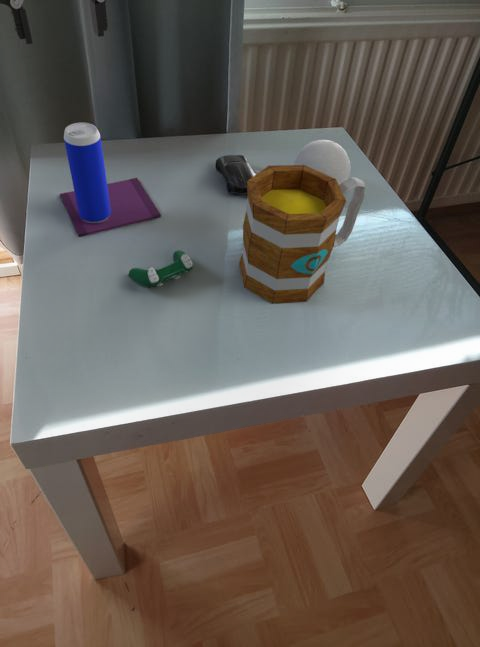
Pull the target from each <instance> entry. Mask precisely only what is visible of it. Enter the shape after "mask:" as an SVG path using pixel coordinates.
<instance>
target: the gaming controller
mask: <svg viewBox="0 0 480 647" xmlns="http://www.w3.org/2000/svg"><path fill="white" fill-rule="evenodd" d="M172 258H173V259H172V260H173V262H172V263H169V264H168V265H165V266H162V267H160V268H157V269H155V267H153V266H152V267H149V268H148V269H144V268H140V267H133V268H131V269H130V270H129V271H128V274H127V275H128V277H129V279H131V280H132V281H133V282H134V283H136V284H138V285H140V286H142V287H144V288H148V289H150V288H152V287H160V286H163V285H164V282H166V281H168V280H171V279H173V280H177V279H179V278H180V277H181V275H182V274H185V273H187V272H190V271H191V270H193V269H194V262H193V260H192V258H190V257H189V255H188V254H187V253H186V252H184V251H183V250H180V249H179V250H175V251H174V252H173V257H172Z"/></svg>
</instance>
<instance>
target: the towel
mask: <svg viewBox="0 0 480 647" xmlns="http://www.w3.org/2000/svg"><path fill="white" fill-rule="evenodd" d="M107 187H108V194H109V201H110V208H111V214H110V216H109V217H108V218H107V219H106V220H105V221H103V222H101V223H88V222H86V221H84V220H83V219H82V218H81V217H80V216H79V212H78V207H77V202H76V197H75V192H74V190H72V191H66V192H61V193H59V197H60V199H61V201H62V204H63V205H64V208H65V210H66V213H67V214H68V216H69V219H70V221H71V223H72V225H73V228H74V230H75V232H76V235H77V236H78V237H84V236H89V235H92V234H96V233H101V232H106V231H108V230H113V229H117V228H121V227H126V226H130V225H133V224H138V223H142V222H146V221H150V220H154V219H158V218H161V217H162V214H161V213H160V211H159V210H158V208H157V207H156V205H155V203H154V202H153V200H152V199H151V197H150V196H149V193H147V191H146V189H145V188H144V186H143V185H142V183H141V182H140V180H139V178H138V177H134V178H133V177H132V178H130V179H124V180H120V181H114V182H111V183H107Z"/></svg>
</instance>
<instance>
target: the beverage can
mask: <svg viewBox="0 0 480 647" xmlns="http://www.w3.org/2000/svg"><path fill="white" fill-rule="evenodd" d="M63 132H64V133H63V141H64V147H65V151H66V156H67V162H68V166H69V171H70V176H71V180H72V181H71V182H72V187H73V191H74V192H75V197H76V202H77V207H78V212H79V216H80V217H81V218H82V219H83V220H84V221H86V222H88V223H101V222H103V221H105V220H106V219H107V218H108V217H109V216H110V214H111V208H110V201H109V194H108V187H107V184H108V180H107V174H106V167H105V160H104V158H105V157H104V152H103V145H102V138H101V134H100V132H99V129H98V127H96V126H95V125H94V124H92V123H89V122H74V123H71V124H69V125H67V126H66V127H65V128H64V131H63Z"/></svg>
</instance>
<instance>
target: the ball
mask: <svg viewBox="0 0 480 647" xmlns="http://www.w3.org/2000/svg"><path fill="white" fill-rule="evenodd" d="M293 165H305V166H308V167H310V168H312V169H314V170H317V171H319V172H321V173H323V174H326V175H328V176H330V177H332V178H335V179H336V180H337V182H338V185H339V184H340V183H342V182H343V181H345V180H346V179H348V178H349V177H350V175H351V162H350V158H349V155H348V152H346V150H345V149H344V148H343V147H342V146H341V145H340V144H339V143H337V142H335V141H333V140H330V139H329V140H328V139H318V140H314V141H311V142H309V143H307V144H306V145H304V146H303V147H302V148H301V149H300V151H299V152H298V154H297V155H296V157H295V159H294V163H293Z"/></svg>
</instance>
